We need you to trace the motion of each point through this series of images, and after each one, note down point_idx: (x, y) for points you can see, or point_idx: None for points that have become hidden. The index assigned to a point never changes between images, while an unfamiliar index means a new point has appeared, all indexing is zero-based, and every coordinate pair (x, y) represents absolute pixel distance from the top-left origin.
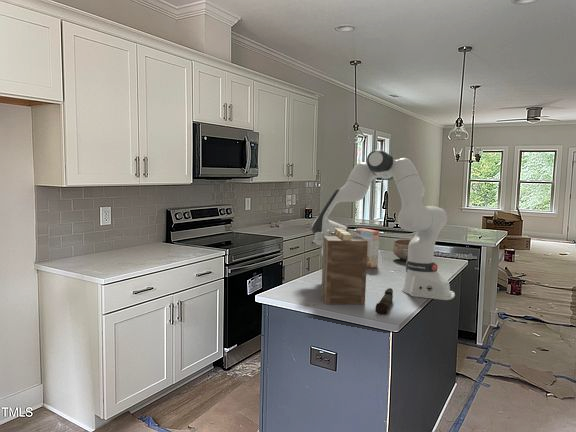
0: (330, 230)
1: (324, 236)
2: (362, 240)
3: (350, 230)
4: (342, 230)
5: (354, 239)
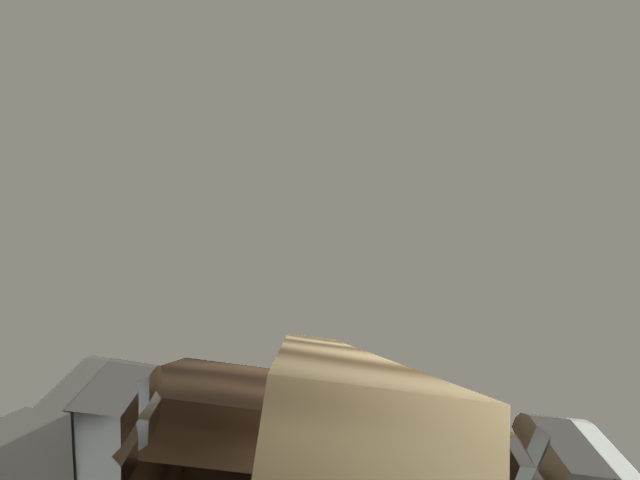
0: (524, 417)
1: (512, 434)
2: (208, 363)
3: (121, 361)
4: (321, 347)
5: (247, 373)
